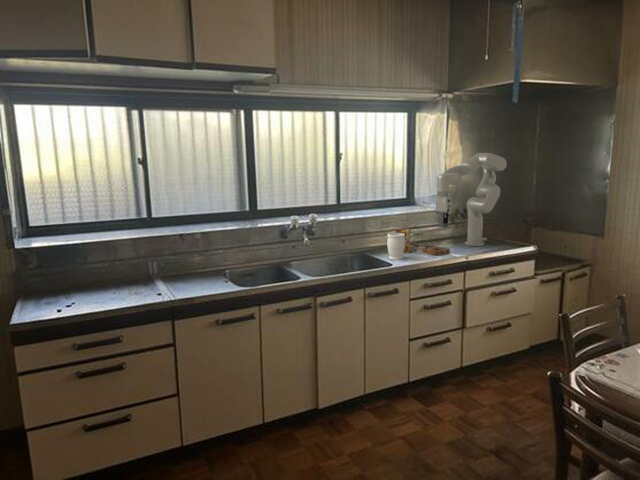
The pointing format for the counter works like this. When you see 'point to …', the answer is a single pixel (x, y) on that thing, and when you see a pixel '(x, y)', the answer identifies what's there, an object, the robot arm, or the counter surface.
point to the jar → (395, 245)
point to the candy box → (405, 238)
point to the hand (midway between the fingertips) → (443, 222)
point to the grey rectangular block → (442, 220)
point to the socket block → (432, 250)
